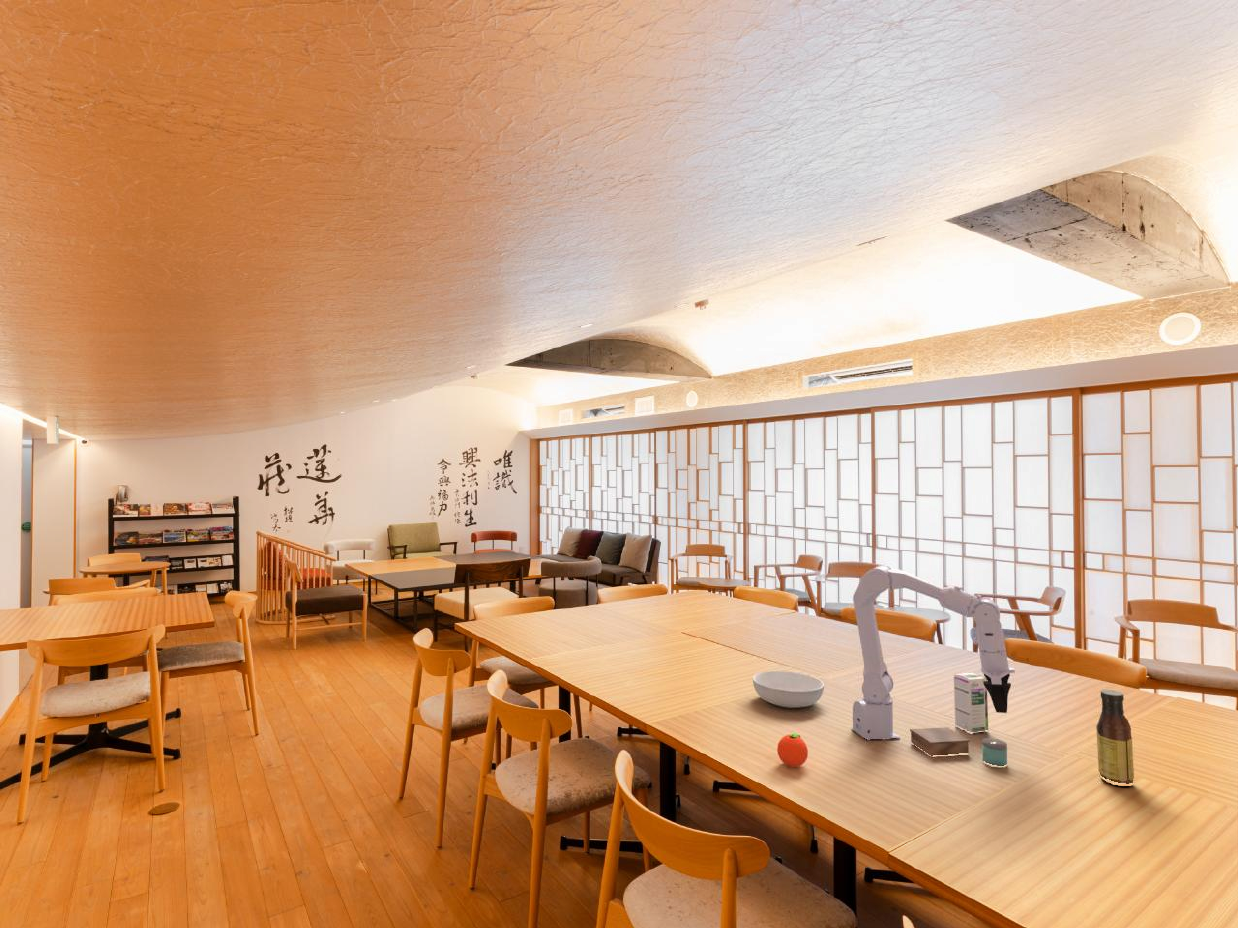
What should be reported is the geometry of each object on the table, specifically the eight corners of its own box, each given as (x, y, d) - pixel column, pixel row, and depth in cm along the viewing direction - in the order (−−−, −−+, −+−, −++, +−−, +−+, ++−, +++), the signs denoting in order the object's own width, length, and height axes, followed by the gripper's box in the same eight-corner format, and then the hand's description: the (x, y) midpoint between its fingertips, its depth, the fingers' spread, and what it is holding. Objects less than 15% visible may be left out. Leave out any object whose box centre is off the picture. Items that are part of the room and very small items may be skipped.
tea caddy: (992, 768, 147) (992, 747, 147) (977, 759, 152) (977, 738, 152) (1012, 767, 147) (1011, 746, 147) (996, 758, 152) (996, 737, 152)
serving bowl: (828, 718, 178) (828, 693, 179) (752, 712, 182) (752, 688, 183) (820, 694, 199) (820, 672, 199) (752, 689, 203) (752, 668, 203)
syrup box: (971, 734, 167) (970, 679, 167) (953, 726, 173) (953, 672, 173) (988, 732, 168) (988, 677, 169) (970, 724, 174) (970, 671, 175)
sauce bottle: (1118, 775, 144) (1116, 687, 144) (1141, 788, 137) (1139, 696, 138) (1090, 775, 143) (1088, 687, 144) (1112, 788, 137) (1110, 696, 138)
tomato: (786, 755, 153) (786, 725, 153) (814, 763, 149) (814, 732, 149) (772, 766, 147) (772, 735, 147) (800, 775, 142) (800, 743, 143)
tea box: (930, 759, 152) (930, 742, 152) (910, 744, 161) (909, 729, 161) (970, 756, 154) (969, 740, 154) (947, 742, 162) (947, 727, 162)
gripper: (1012, 656, 145) (1022, 717, 144) (1010, 644, 158) (1019, 699, 156) (977, 656, 149) (986, 715, 147) (978, 643, 161) (986, 698, 160)
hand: (1001, 707), depth 152 cm, fingers open, 7 cm apart
